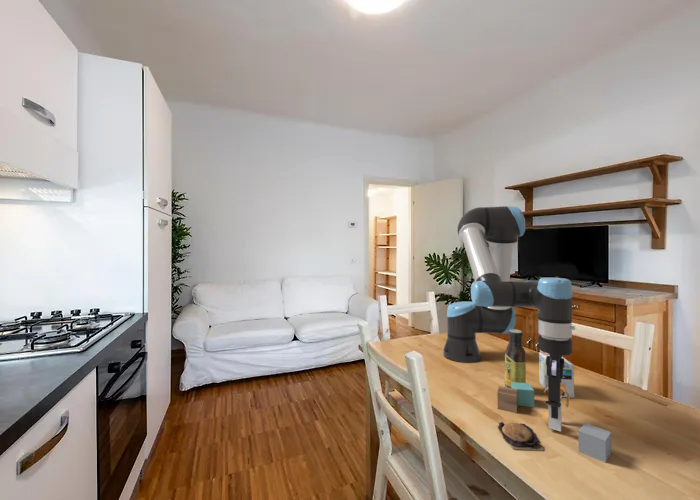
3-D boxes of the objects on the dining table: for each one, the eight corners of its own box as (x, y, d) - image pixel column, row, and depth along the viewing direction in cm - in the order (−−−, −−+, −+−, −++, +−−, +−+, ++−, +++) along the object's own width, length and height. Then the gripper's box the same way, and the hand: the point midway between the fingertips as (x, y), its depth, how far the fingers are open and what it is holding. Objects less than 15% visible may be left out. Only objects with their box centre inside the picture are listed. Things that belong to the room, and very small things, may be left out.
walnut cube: (499, 401, 97) (498, 385, 97) (517, 405, 95) (517, 389, 95) (497, 409, 93) (497, 392, 93) (516, 413, 91) (516, 396, 90)
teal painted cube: (511, 397, 100) (511, 381, 100) (528, 399, 99) (528, 383, 99) (515, 405, 95) (515, 389, 95) (534, 407, 94) (534, 390, 94)
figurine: (533, 418, 88) (532, 375, 87) (554, 416, 88) (553, 374, 88) (556, 436, 79) (554, 390, 79) (578, 434, 80) (577, 387, 79)
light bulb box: (575, 398, 99) (574, 364, 98) (551, 397, 100) (551, 363, 100) (559, 384, 109) (559, 353, 109) (538, 382, 110) (538, 351, 110)
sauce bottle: (503, 384, 109) (503, 327, 109) (524, 386, 107) (523, 328, 107) (506, 392, 103) (505, 332, 103) (527, 395, 101) (527, 333, 101)
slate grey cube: (584, 443, 77) (584, 422, 77) (611, 453, 73) (611, 432, 73) (578, 451, 74) (578, 430, 74) (605, 463, 70) (605, 440, 70)
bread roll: (547, 454, 74) (547, 438, 74) (510, 452, 74) (510, 436, 74) (526, 428, 84) (526, 414, 84) (493, 426, 85) (493, 412, 85)
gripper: (571, 348, 74) (572, 447, 74) (572, 331, 88) (572, 413, 89) (534, 342, 78) (535, 436, 78) (541, 327, 93) (541, 405, 93)
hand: (555, 423), depth 83 cm, fingers closed on figurine, 5 cm apart
